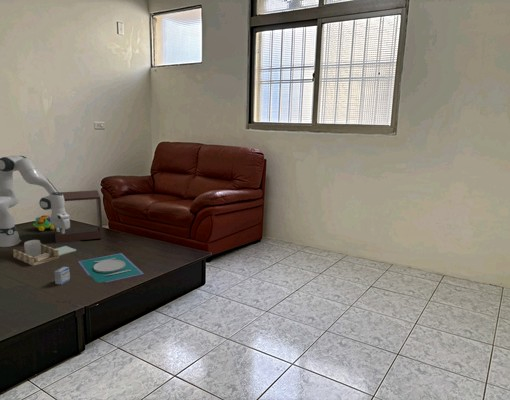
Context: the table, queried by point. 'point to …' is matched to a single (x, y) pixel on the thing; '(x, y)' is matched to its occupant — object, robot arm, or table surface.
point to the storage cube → (82, 232)
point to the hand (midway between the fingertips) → (60, 232)
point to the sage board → (65, 250)
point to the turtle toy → (43, 223)
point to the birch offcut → (41, 257)
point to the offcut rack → (30, 259)
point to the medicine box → (62, 275)
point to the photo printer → (32, 248)
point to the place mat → (110, 268)
